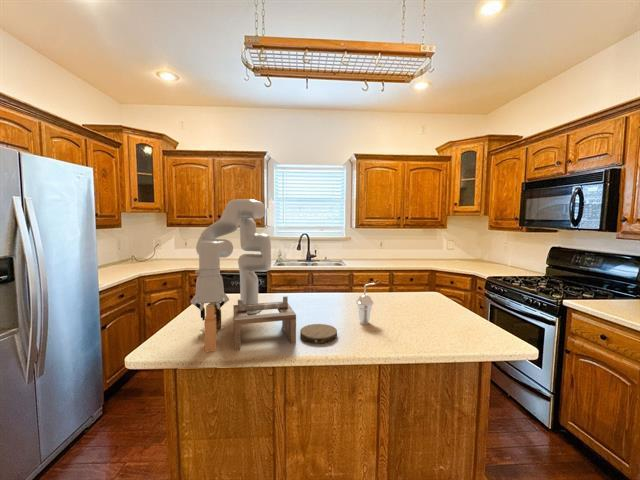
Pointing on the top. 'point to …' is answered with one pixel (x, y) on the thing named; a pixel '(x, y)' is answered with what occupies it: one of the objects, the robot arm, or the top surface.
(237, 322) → the shelf
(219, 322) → the condiment
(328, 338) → the brown round disc
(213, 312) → the l-shaped step block
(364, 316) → the cup with straw
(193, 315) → the top surface
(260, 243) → the robot arm
